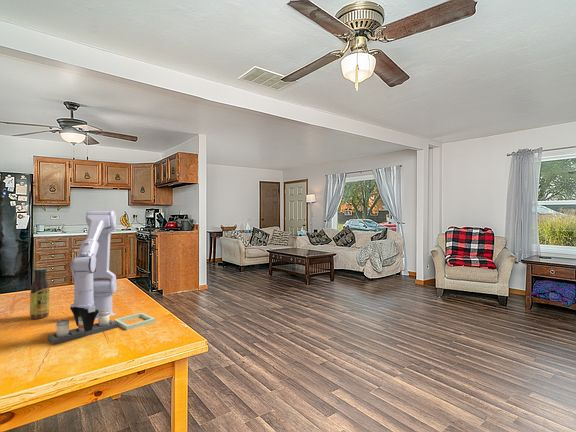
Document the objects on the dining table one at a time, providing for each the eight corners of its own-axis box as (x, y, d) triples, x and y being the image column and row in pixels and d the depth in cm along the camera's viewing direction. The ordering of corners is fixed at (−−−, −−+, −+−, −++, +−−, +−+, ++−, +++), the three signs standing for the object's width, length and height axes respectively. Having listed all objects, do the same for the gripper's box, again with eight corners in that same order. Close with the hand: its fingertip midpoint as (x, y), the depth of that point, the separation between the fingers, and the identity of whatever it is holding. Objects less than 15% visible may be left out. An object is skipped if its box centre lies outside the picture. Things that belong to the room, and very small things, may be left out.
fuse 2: (96, 328, 119) (96, 312, 119) (107, 325, 122) (107, 309, 122) (100, 330, 117) (100, 314, 117) (111, 327, 120) (111, 311, 119)
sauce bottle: (38, 320, 128) (37, 270, 128) (25, 319, 129) (25, 270, 129) (53, 314, 135) (53, 267, 134) (41, 313, 136) (40, 267, 135)
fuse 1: (54, 338, 109) (54, 321, 109) (67, 335, 112) (67, 318, 112) (58, 341, 107) (58, 324, 107) (70, 338, 110) (70, 321, 109)
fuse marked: (76, 333, 114) (76, 316, 114) (88, 330, 117) (87, 314, 117) (80, 335, 112) (80, 318, 112) (91, 332, 115) (91, 316, 114)
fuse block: (47, 340, 109) (47, 335, 109) (110, 324, 124) (110, 319, 124) (53, 346, 104) (53, 340, 104) (117, 329, 120) (117, 323, 120)
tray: (113, 324, 124) (113, 319, 124) (141, 317, 133) (141, 312, 133) (126, 331, 117) (126, 326, 117) (155, 323, 126) (155, 318, 126)
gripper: (63, 288, 115) (64, 326, 116) (78, 296, 106) (78, 336, 107) (85, 285, 121) (86, 320, 121) (101, 291, 112) (101, 330, 112)
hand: (84, 328), depth 114 cm, fingers open, 7 cm apart
